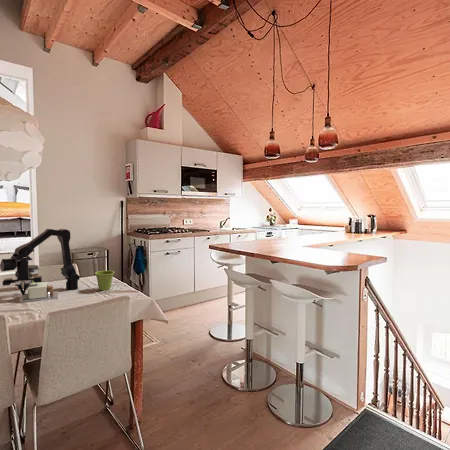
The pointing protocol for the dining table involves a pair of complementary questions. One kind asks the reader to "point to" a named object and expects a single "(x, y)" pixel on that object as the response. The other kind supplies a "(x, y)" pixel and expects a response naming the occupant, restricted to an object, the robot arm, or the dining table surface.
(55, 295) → the housing base
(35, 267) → the coffee can
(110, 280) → the plant pot
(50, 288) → the walnut block
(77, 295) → the dining table surface
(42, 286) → the cover
